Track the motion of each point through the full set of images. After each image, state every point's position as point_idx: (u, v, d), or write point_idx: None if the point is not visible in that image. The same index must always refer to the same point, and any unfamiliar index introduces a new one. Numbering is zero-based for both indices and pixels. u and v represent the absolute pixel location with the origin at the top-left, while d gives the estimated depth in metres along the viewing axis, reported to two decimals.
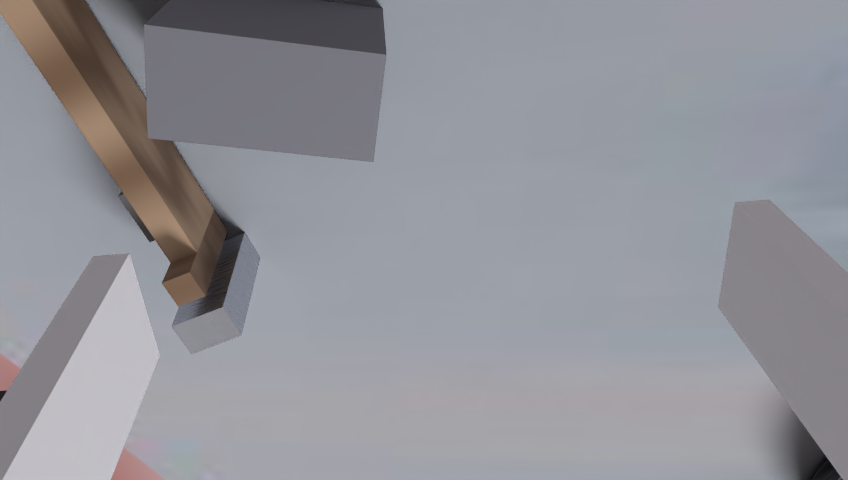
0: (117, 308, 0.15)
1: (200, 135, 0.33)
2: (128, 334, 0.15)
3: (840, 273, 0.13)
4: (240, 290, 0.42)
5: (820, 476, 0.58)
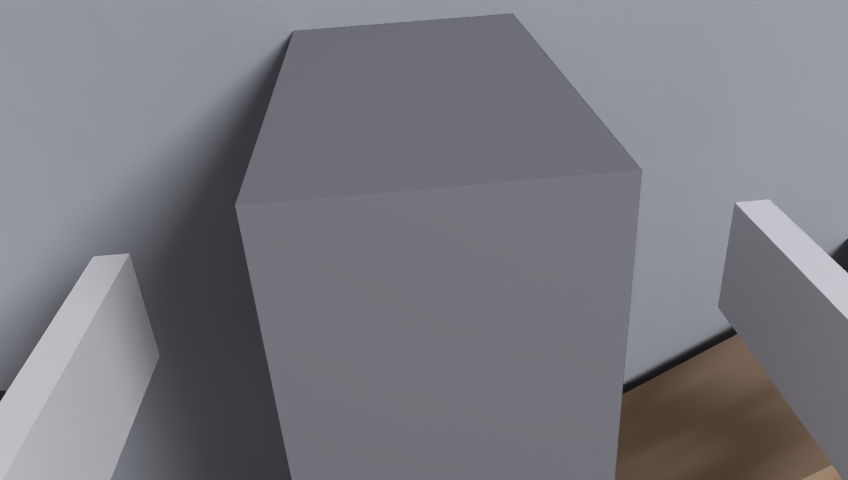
0: (117, 309, 0.15)
1: None
2: (128, 334, 0.15)
3: (840, 273, 0.13)
4: None
5: None
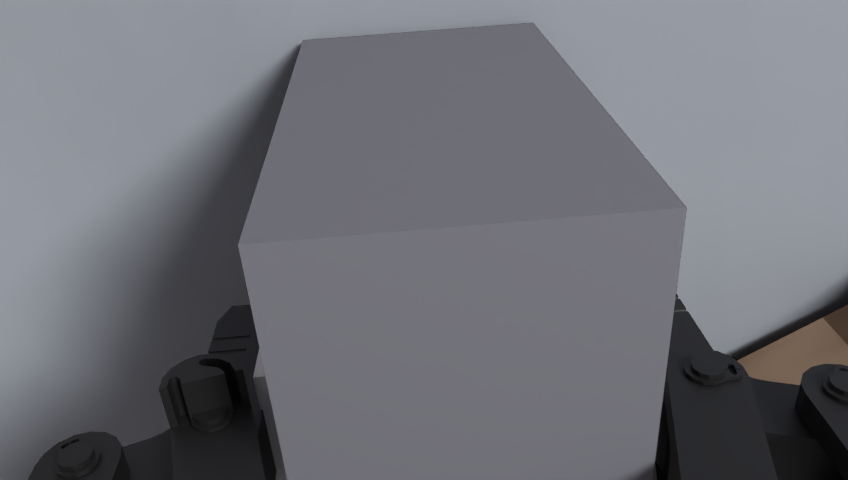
0: None
1: None
2: None
3: None
4: None
5: None
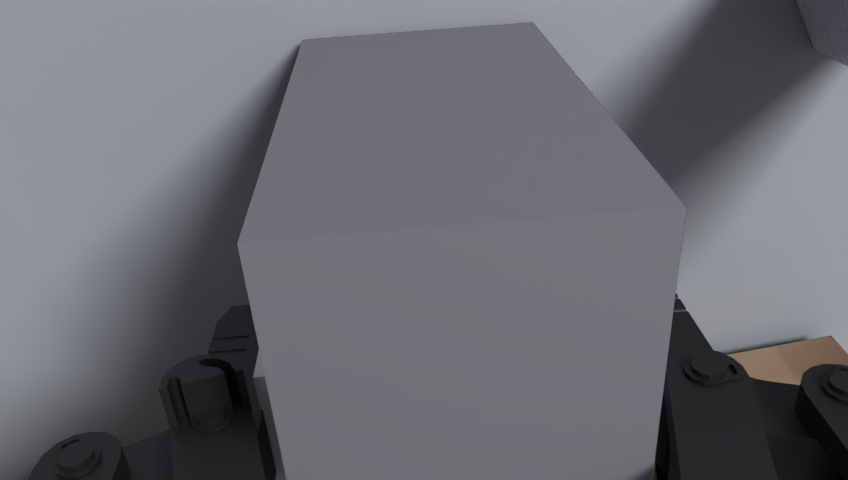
0: None
1: None
2: None
3: None
4: None
5: None
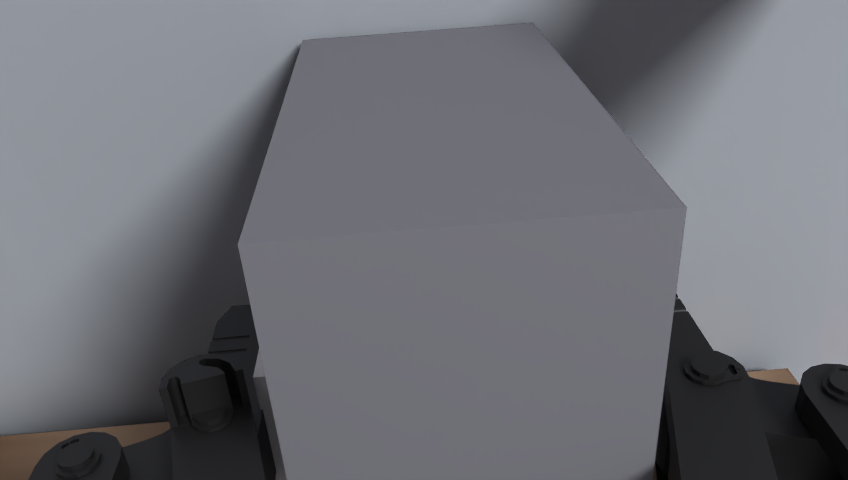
0: None
1: None
2: None
3: None
4: None
5: None
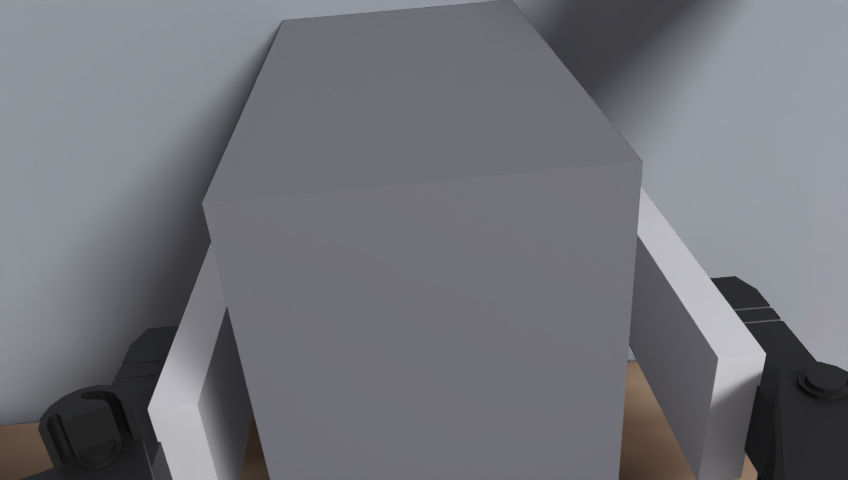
0: None
1: None
2: None
3: (676, 243, 0.15)
4: None
5: None
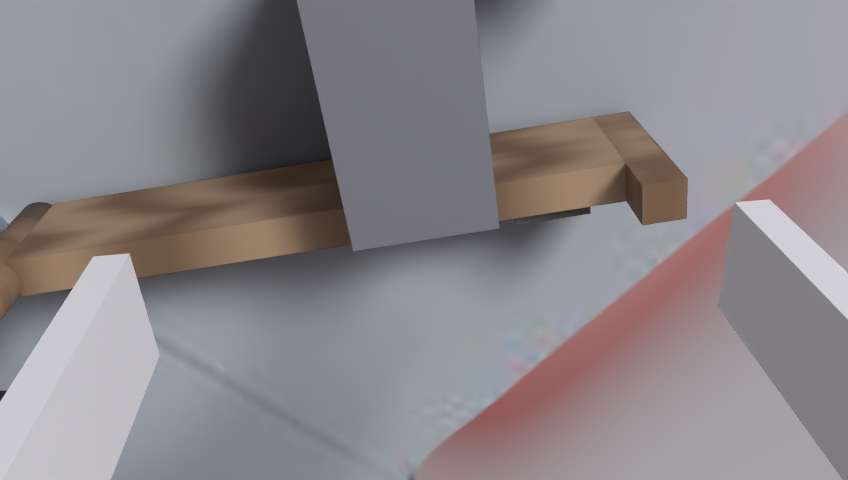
0: (117, 309, 0.15)
1: (481, 169, 0.24)
2: (128, 334, 0.15)
3: (840, 273, 0.13)
4: None
5: None
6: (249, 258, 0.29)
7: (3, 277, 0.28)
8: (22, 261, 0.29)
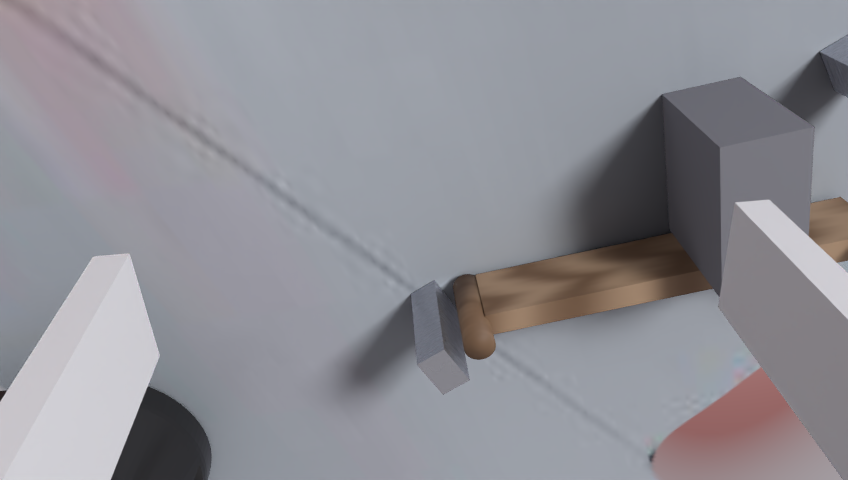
0: (117, 309, 0.15)
1: None
2: (128, 334, 0.15)
3: (840, 273, 0.13)
4: None
5: None
6: (628, 305, 0.48)
7: (489, 325, 0.47)
8: (495, 314, 0.48)
